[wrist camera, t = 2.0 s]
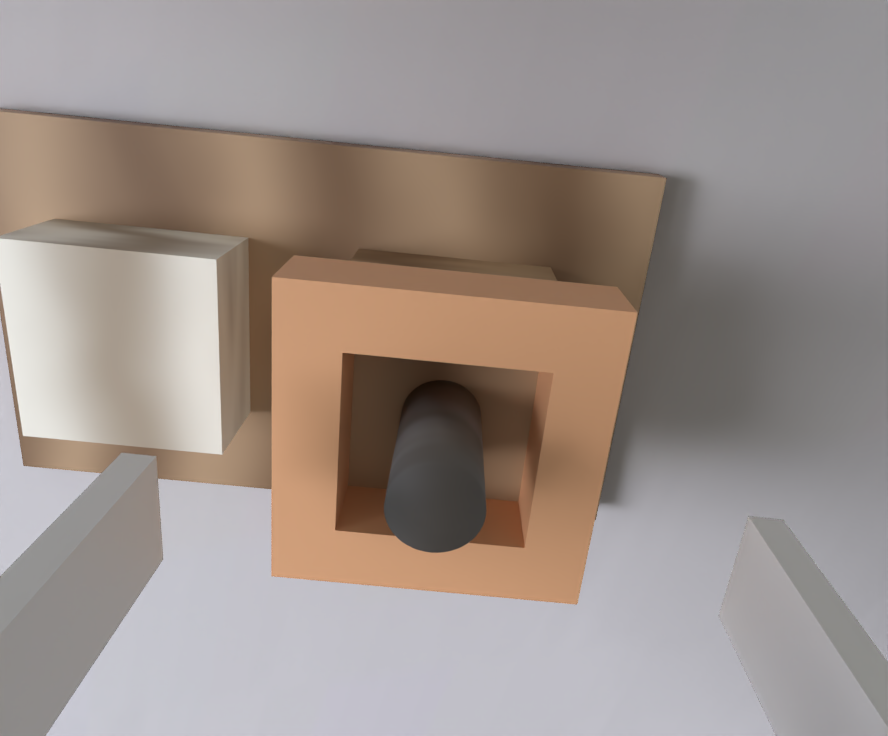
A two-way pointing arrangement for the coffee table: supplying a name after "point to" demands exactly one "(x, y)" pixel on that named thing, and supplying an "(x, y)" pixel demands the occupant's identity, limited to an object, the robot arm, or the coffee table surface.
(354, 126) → the coffee table surface
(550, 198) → the stand
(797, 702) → the robot arm
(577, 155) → the coffee table surface
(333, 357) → the square frame
